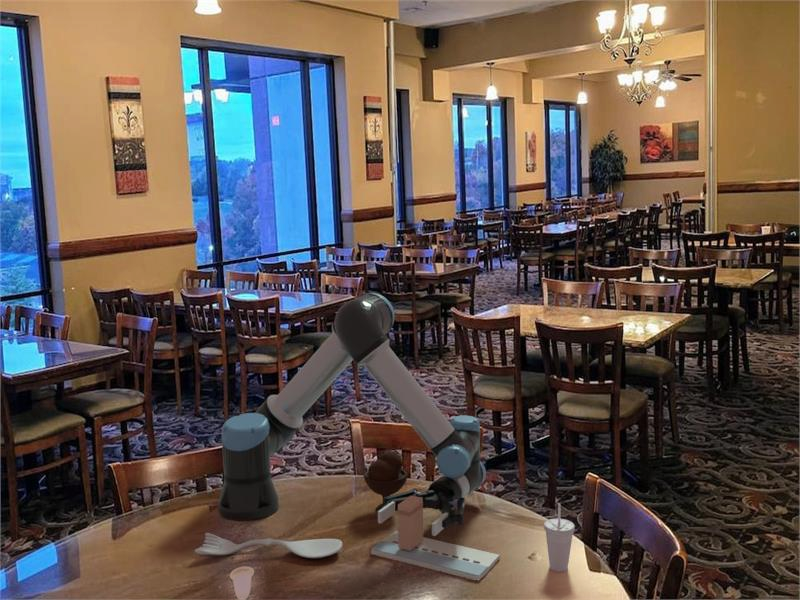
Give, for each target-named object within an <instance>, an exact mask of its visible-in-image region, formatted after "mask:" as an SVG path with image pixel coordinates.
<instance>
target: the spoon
mask: <svg viewBox="0 0 800 600" xmlns="http://www.w3.org/2000/svg"><path fill="white" fill-rule="evenodd" d="M204 536H205V537H204V539H205V540H203V542H204V543H202V544H201V545H202V546H199V547H198V548H195V549H194V553H195V554H197V555H198V554H199V555H208V556H209V555H211V556H227V555H231V554H234V553H236V552H239V551H241V550H242V549H244V548H245V549H246V547H249V546H256V545H257V546H258V545H260V546H265V547H269V546H271V545H275V546H280V547H284V548H285V549H287V550H289V552H291V553H292V554H294V555H297V556H298V557H303V558H306V559H307V558H308V559H322V558H325V557H329V556H332V555H334V554H336V553H338V552H339V551H341V550H342V548H343V542H342V540H341V539H337V538H317V539H304V540H303V539H302V540H296V541H295V540H294V541H293V540H292V541H286V540H280V539H272V538H270V537H268V538H263V539H262V538H260V539H251V540H250V539H249V540H247V541H245V542H242V543H239V544H237V543H235V542H233V541H231V540H229V539H226V538H222V537H220V536H218V535H215V534H213V533H212V532H211V533H210V532H206V533H204Z"/></svg>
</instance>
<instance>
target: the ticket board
mask: <svg viewBox="0 0 800 600" xmlns="http://www.w3.org/2000/svg"><path fill="white" fill-rule="evenodd" d="M371 555H374V556H377V557H382V558H385V559H389V560H394V561H397V560H398V561H399V562H402V563H405V562H406V564H410V565H414V566H417V565H418V567H421V568H425V569H430V570H433V571H438V572H440V571H441V573H444V574H445V573H446V574H449V575H453V576H457V577H462V578H464V577H465V578H464V579H469V580H472V581H476V580H477V582H480V581H481V580H482V579H483V578H484V577H485V576H486V574H487V573H488V572H489V571H490V570H491V569H492V568H493V567H494V566H495V565H496V564H497V563H496V562H497V561H498V560H499V561H500V559H501V558H500V557H501V555H500V554H496V553H494V552H488V551H485V550H480V549H475V548H472V547H467V546H463V545H460V544H454V543H450V542H446V541H441V540H437V539H432V538H429V537H424V536H423V541H422V542H420V543H419V544H418V545H417V546H416V547H414V548H413V549H412V550H411V551H409V550H405V549H401V548H398V530H395V531H394V532H393V533H391V534H390V535H389V536H387V537H386V538H385V539H384V540H381V541H380V542H378V543H376V545H375V546H373V547H372V548H371ZM398 561H397V562H398ZM499 561H498V562H499ZM495 563H496V564H495ZM481 578H482V579H481ZM480 579H481V580H480ZM479 580H480V581H479Z"/></svg>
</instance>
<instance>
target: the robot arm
mask: <svg viewBox="0 0 800 600" xmlns="http://www.w3.org/2000/svg"><path fill="white" fill-rule="evenodd" d="M394 322H395V310H394V307H393V305H392V304H391V302H390V300H388V299H387V298H386V297H385V296H383V295H381V294H379V293H375V292H370V293H369V292H368V293H362V294H360V295H358V296H357V297H356V298H354V299H351V300H349V301H347V302H345V303H343V304H342V305H341V306H340V307H339V309H338V310H337V312H336V315H335V318H334V321H333V322H332V324H331V334H330V335H329V336H328V337H327V339H325V341H324V342H323V343H322V345H320V346H319V348H318V349H316V351H315V352H314V353H313V354H312V356H311V357H310V358H309V359H308V360H307V361H306V362H305V364H304V365H303V366H302V367H301V368H300V369H299V370H298V371H297V373H296V374H295V375H294V376H293V377H292V378H291V380H290V381H288V383H287V384H286V385H285V386H284V387H283V389H282V390H281V391H280V392H279V393H278V394H270V395H269V396H268V397H267V398H266V399H265V400H264V402H263V403H262V404H261V405H260V406H259V407H258V409H256V410H255V412H247V413H242V414H241V413H240V414H239V415H234V416H232V417H230V418H228V419H227V420H226V421H225V422H224V423H223V425H222V427H221V428H222V429H221V437H220V438H221V440H220V441H221V445H222V448H221V449H222V461H223V462H222V464H223V465H222V466H223V485H222V489H221V490H220V491H221V492H220V495H219V499H218V502H217V508H218V509H217V510H218V514H219V515H220V516H221V517H223V518H225V519H227V520H233V521H252V520H258V519H262V518H265V517H268V516H270V515H273V514H274V513H275V512H277V510H279V507H280V504H279V500H280V499H279V495H278V492H277V491H276V488H275V485H274V482H273V480H272V475H271V471H272V470H271V457H272V456H273V455H274V454H275V453H277V452H278V451H279V450H280V449H282V447H284V446H286V445H287V444H289V442H290V441H291V440H292V439H293V438H294V436H295V435H296V432H297V431H298V430H299V429H300V428H301V426H302V425H303V423H304V422H303V421H304V419H303V416H304V415H305V413H307V412H308V410H309V409H310V408H311V407H312V406H313V405H314V403H316V402H317V400H318V399H319V398H320V397H321V396H322V395H323V394H324V392H326V390H328V389H329V387H330V386H331V385H332V384H333V383H334V382H335V380H336V379H337V378H338V377H339V376H340V375H341V374H342V373H343V371H345V370H346V368H347V367H348V366H349V365H350V364H351V362H352V361H354V363H356V365H357V366H361V367H364V368H365V369H366V370H367V372H368V373H369V374H370V376H371V377H372V378H373V379H374V381H375V382H376V383H377V384H378V385H379V387H380V388H381V389H382V390H383V392H384V393H385V394H386V396H387V397H388V398H389V399H390V401H391V402H392V403H393V404H394V406H395V407H396V408H397V409H398V411H399V412H400V414H401V415H402V416H403V417H404V418H405V420H406V421H407V422H408V424H409V425H411V426H410V427H412V428H413V429H414V431H415V432H416V434H417V435H418V436H419V437H420V438H421V440H422V441H423V442H424V443H425V445H426V446H427V448H428V449H429V450H430V451H431V452H432V454H433V455H434V456H435V458H436V466H437V469H438V470H439V472H440V474H442V475H441V476H440V477H438V478H436V479H435V480H434V481H433V482H432V483H431V484H430V485H429V486H428V488H427V490H426V491H423V492H420V491H418V488H416V487H414V488H412V489H410V490H406V491H403V492H400V493H399V492H398V493H395V494H392V495H390V496H388V497H384V506H383V507H382V509H381V510H379V511H378V513H377V523H378V524H383V522H385V521H387V520H388V519H390V518H391V517H392V516H393V515H395V514H396V512H398V504H400V503H401V502H402V501H404V500H405V499H407V498H408V497H410V496H416V497H421V498H423V509H433V510H439V511H440V513H441V515H440V516H439V517H438V518H436V520H434V521H433V522H432V523H431V536H433V537H435V536H437V535H438V534H440V532H441V531H443V530H444V529H448V528H449V527H450V526H451V525H455V524H456V523H457V525H458V526H462V525H464V510H465V505H466V503H465V500H466V499H465V498H467V496H469V495H470V494H471V493H473V492H475V490H477V489H479V488H480V487H481V484H483V483H484V481H485V480H486V476H487V470H486V468H485V465H484V463H483V462H482V461H481V457H480V456H481V455H480V453H481V451H480V450H481V447H480V446H481V432H482V431H481V429H480V428H481V427H480V426H481V425H480V424H481V423H480V420H479V418H477V417H475V416H472V415H457V416H453V417H452V418H451V419H450V421H449V420H448V419H447V418H446V416H445V415H444V413H442V411H441V410H440V409H439V408H438V406H437V405H436V404H435V402H434V401H433V400H432V398H431V397H430V396H429V395H428V393H427V392H426V391H425V390H424V388H422V386H421V385H420V384H419V382H418V381H417V380H416V379H415V377H414V376H413V374H412V373H410V371H409V369H408V368H407V367H406V366H405V364H403V362H402V361H401V360H400V358H399V357H398V356H397V355H396V354H395V351H393V350H392V348H391V346H390V339H389V338H388V336H387V334H388V333H389V332H390V331H391V330H392V327H393V325H394V324H395V323H394ZM454 507H455V509H453V508H454ZM395 511H396V512H395ZM455 511H456V513H455Z"/></svg>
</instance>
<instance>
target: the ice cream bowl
mask: <svg viewBox="0 0 800 600" xmlns="http://www.w3.org/2000/svg"><path fill="white" fill-rule="evenodd" d="M403 465H404V463H403V459H402V457H401V455H400V454H398V453H397V452H395V451H391V450H389V451H385V452H383V453H382V454H381V455H380V456H379V457H378V459H376V460H375V461H374V462H373V463H371V464H370V465H368V469H367V470H366V471H365V472H364V473H363V478H364V482H365V483H366V485H367V486H368V488H369V489H370V490H371V491H372V492H374V493H375V494H377V495H380V496H381V497H382V503H380V504H378V505H377V506H376V507H375V509H374V510H375V512H376V513H377V514H378V511H379V510H381V509H382V507H383V506H384V497H388V496H392V495H395V494H397V492H398V493H399V491H400V490H401V489H402V488H403V486H404V485H405V484H406V482H407V480H408V476H409V473H408V472H407V470H405V468H403Z"/></svg>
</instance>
